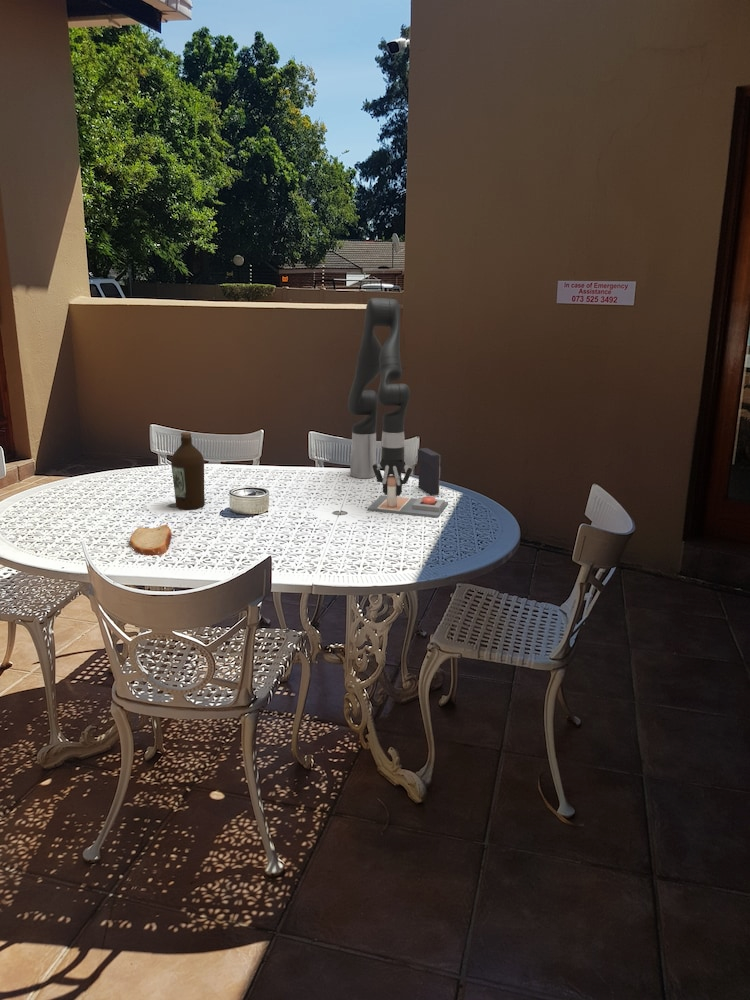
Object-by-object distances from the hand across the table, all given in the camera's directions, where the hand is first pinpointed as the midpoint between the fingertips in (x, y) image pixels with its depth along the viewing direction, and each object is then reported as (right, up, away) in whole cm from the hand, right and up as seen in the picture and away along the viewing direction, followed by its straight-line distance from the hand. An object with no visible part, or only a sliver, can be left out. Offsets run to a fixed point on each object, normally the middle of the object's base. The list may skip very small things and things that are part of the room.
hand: (392, 494), depth 250 cm
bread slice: (-70, -15, -32) cm, 78 cm away
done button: (+12, -3, +1) cm, 13 cm away
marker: (0, -4, +1) cm, 4 cm away
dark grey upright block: (+14, +1, +22) cm, 26 cm away
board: (+6, -4, +3) cm, 8 cm away
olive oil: (-68, -4, +2) cm, 68 cm away
